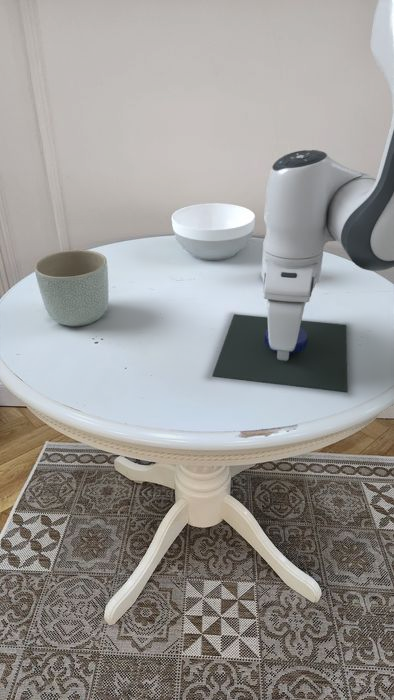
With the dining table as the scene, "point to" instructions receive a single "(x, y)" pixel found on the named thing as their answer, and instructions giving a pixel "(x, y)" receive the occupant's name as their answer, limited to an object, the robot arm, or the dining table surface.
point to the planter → (74, 286)
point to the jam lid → (299, 345)
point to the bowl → (213, 229)
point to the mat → (301, 368)
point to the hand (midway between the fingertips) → (285, 345)
